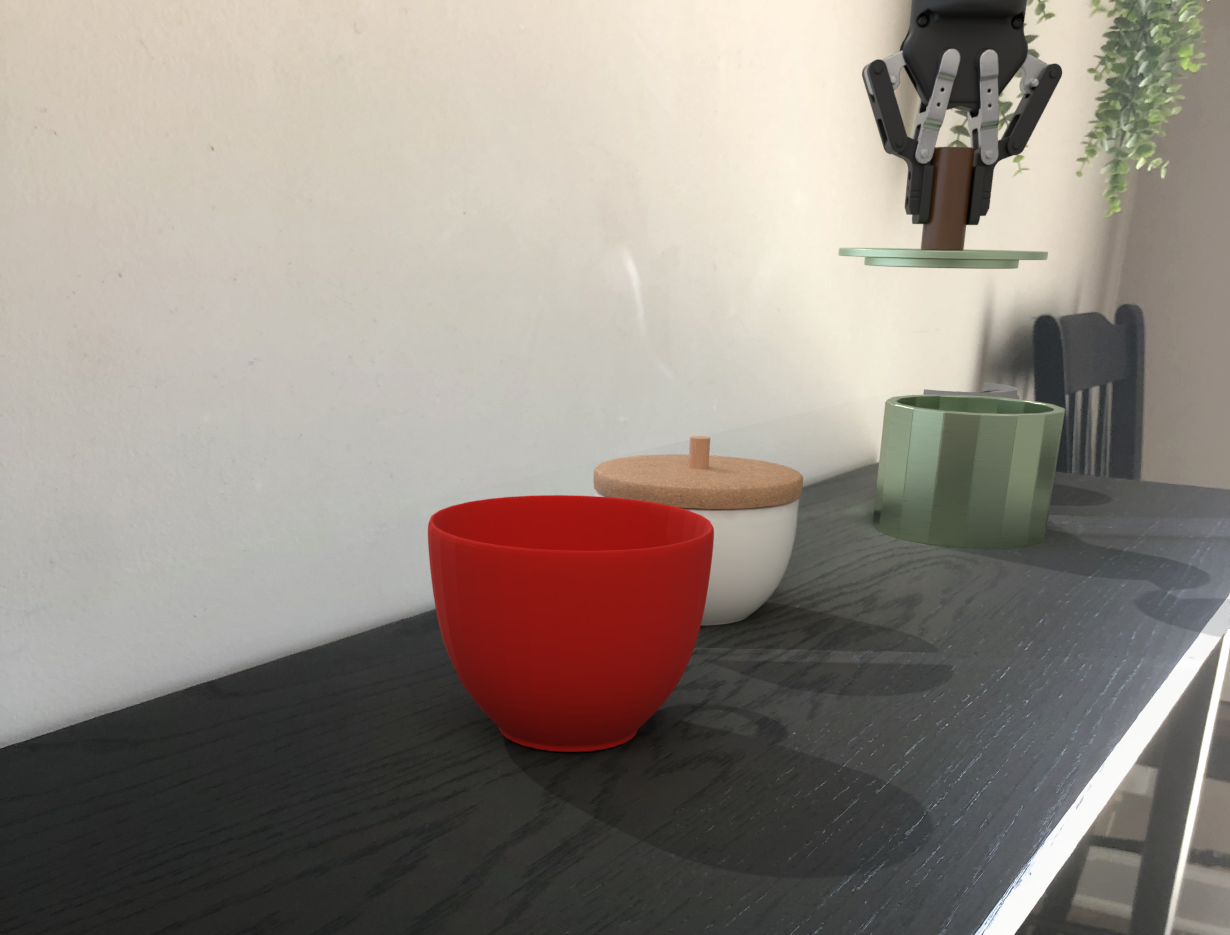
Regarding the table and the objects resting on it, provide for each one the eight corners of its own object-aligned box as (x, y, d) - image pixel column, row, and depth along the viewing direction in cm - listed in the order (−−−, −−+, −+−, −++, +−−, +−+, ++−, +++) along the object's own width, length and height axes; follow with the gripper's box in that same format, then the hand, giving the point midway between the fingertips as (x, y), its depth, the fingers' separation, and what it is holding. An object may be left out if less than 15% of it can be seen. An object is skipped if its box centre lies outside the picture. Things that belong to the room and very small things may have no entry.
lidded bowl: (799, 650, 78) (816, 456, 73) (584, 641, 78) (588, 448, 74) (783, 597, 89) (797, 426, 85) (596, 590, 90) (600, 420, 85)
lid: (1010, 265, 102) (1023, 155, 99) (1075, 270, 89) (1094, 143, 86) (821, 262, 102) (829, 151, 99) (859, 267, 89) (869, 139, 85)
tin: (1014, 522, 116) (1032, 396, 111) (1066, 557, 103) (1089, 417, 99) (858, 519, 115) (871, 392, 111) (892, 553, 103) (908, 412, 99)
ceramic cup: (736, 679, 72) (748, 492, 68) (672, 793, 57) (683, 562, 53) (508, 656, 75) (508, 475, 71) (390, 759, 60) (380, 537, 56)
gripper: (881, -79, 84) (857, 222, 91) (1101, -73, 84) (1060, 225, 91) (858, -55, 91) (837, 223, 98) (1061, -50, 91) (1026, 226, 98)
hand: (945, 223), depth 94 cm, fingers closed on lid, 3 cm apart
